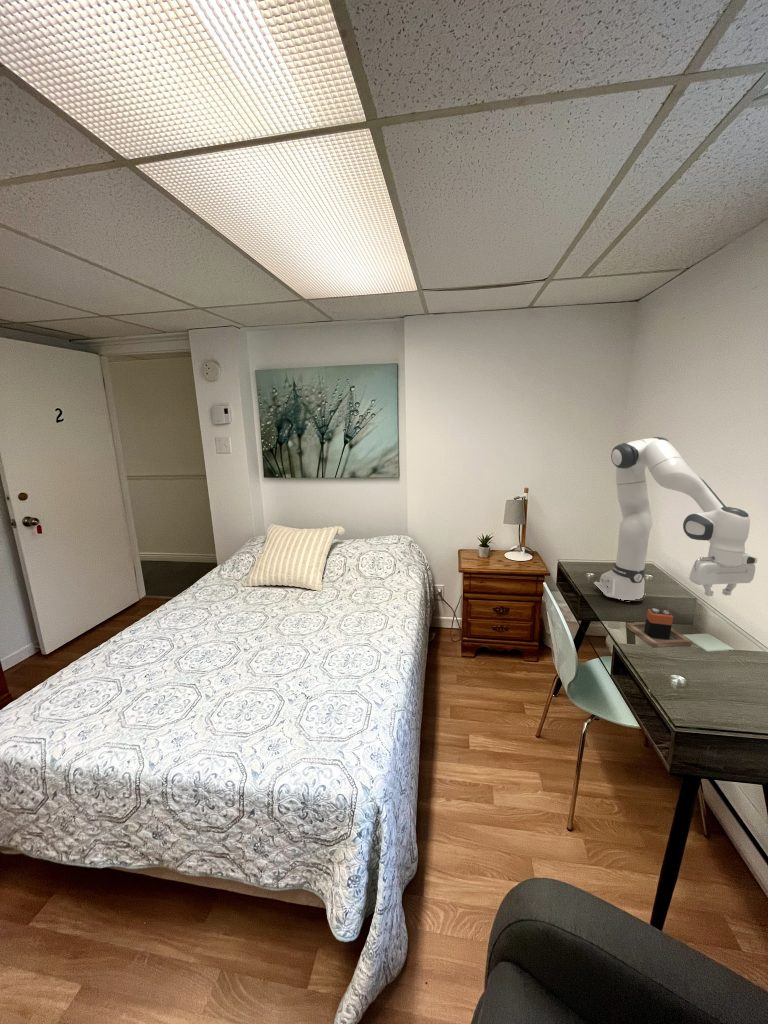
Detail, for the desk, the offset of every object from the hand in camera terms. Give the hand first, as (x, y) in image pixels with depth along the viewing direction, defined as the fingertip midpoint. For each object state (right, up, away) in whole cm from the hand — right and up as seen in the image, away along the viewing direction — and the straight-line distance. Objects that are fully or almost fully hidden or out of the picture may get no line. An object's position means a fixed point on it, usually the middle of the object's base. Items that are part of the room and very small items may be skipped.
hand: (717, 595), depth 133 cm
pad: (0, -18, +4) cm, 18 cm away
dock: (-14, -17, +9) cm, 24 cm away
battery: (-15, -17, +9) cm, 24 cm away
